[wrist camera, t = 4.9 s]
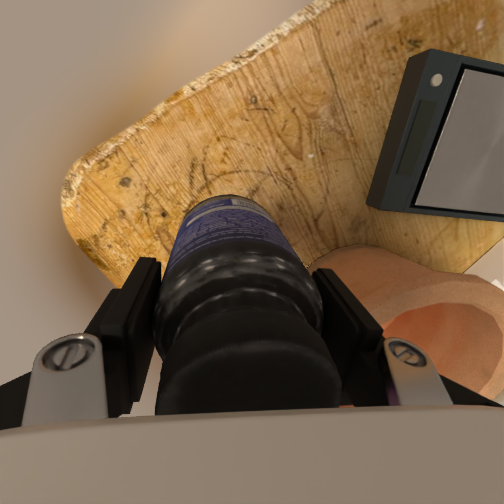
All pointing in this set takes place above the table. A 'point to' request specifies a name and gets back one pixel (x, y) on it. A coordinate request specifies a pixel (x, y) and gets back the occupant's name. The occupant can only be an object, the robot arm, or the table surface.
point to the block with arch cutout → (491, 266)
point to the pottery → (430, 312)
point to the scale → (420, 132)
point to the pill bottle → (239, 318)
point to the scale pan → (467, 148)
